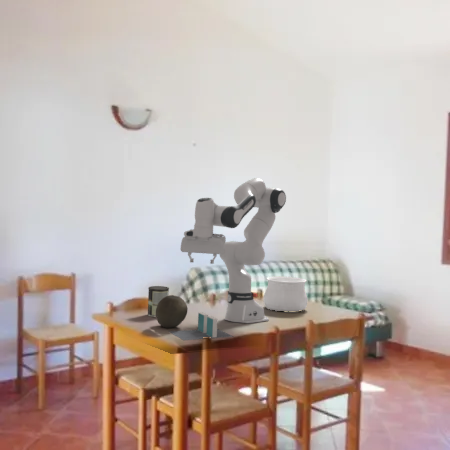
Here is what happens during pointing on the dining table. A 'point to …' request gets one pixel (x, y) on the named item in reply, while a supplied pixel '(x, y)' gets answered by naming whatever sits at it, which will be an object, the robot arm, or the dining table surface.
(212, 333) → the tile
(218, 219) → the robot arm
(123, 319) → the dining table surface
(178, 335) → the mat
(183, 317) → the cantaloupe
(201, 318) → the tile
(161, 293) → the coffee can
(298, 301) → the pot
